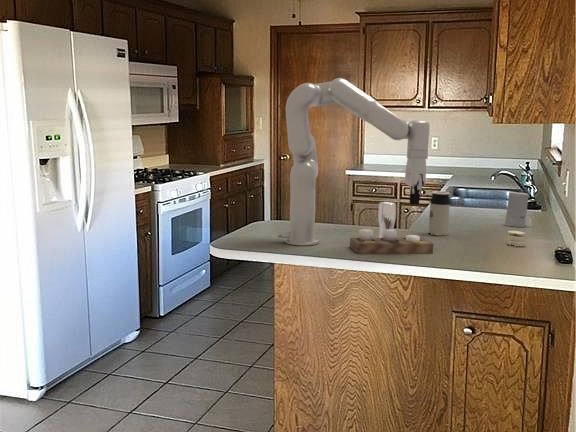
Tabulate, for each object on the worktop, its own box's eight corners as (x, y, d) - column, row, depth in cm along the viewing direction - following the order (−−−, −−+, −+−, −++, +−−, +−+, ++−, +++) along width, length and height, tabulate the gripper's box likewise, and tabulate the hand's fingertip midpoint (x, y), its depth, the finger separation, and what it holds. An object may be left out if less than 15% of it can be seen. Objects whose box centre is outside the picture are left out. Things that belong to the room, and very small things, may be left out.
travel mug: (446, 233, 273) (449, 191, 271) (448, 236, 266) (451, 193, 263) (427, 232, 275) (430, 190, 272) (429, 235, 267) (431, 192, 264)
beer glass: (381, 242, 249) (383, 204, 247) (374, 238, 256) (376, 201, 254) (397, 241, 251) (399, 204, 249) (390, 238, 258) (392, 201, 255)
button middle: (384, 241, 233) (385, 231, 232) (381, 239, 238) (381, 229, 237) (398, 241, 234) (398, 231, 233) (393, 239, 238) (394, 229, 238)
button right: (408, 247, 235) (408, 237, 234) (403, 244, 239) (404, 234, 239) (421, 247, 235) (421, 237, 235) (416, 244, 240) (417, 234, 240)
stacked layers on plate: (533, 247, 248) (534, 233, 248) (517, 249, 244) (518, 235, 243) (513, 242, 257) (514, 229, 256) (497, 244, 253) (498, 230, 252)
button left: (361, 241, 232) (361, 231, 231) (357, 239, 236) (358, 229, 236) (374, 241, 232) (374, 231, 232) (370, 239, 237) (371, 229, 237)
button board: (357, 253, 226) (358, 243, 226) (349, 246, 238) (350, 236, 237) (432, 253, 230) (433, 242, 230) (421, 246, 242) (421, 236, 242)
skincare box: (505, 226, 297) (507, 192, 295) (507, 224, 304) (510, 191, 301) (524, 227, 293) (527, 193, 291) (526, 225, 300) (529, 192, 297)
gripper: (400, 153, 239) (398, 201, 242) (414, 155, 224) (411, 207, 227) (420, 153, 240) (417, 201, 243) (434, 156, 225) (431, 207, 228)
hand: (414, 204), depth 235 cm, fingers closed
